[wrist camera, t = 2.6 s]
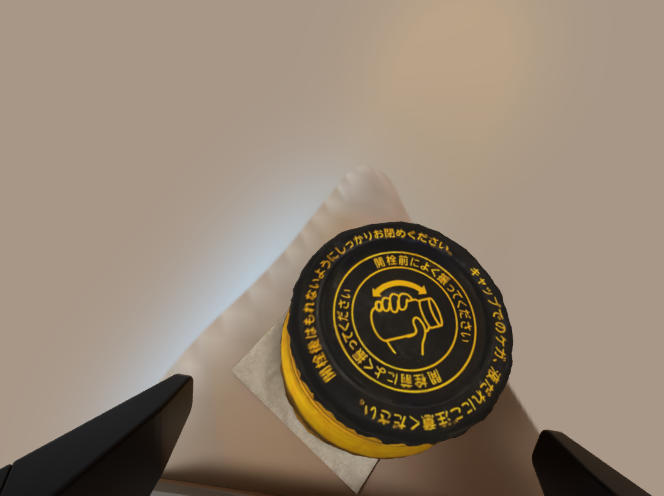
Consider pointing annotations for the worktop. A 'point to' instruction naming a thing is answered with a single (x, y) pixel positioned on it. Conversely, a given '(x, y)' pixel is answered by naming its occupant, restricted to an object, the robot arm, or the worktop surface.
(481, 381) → the condiment
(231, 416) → the worktop surface
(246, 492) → the grey square frame
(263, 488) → the worktop surface
